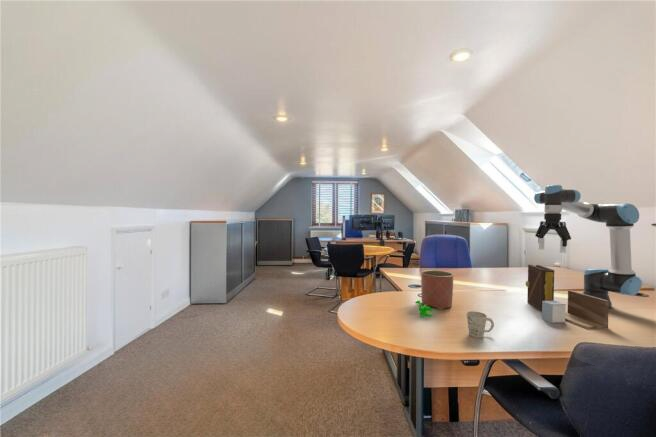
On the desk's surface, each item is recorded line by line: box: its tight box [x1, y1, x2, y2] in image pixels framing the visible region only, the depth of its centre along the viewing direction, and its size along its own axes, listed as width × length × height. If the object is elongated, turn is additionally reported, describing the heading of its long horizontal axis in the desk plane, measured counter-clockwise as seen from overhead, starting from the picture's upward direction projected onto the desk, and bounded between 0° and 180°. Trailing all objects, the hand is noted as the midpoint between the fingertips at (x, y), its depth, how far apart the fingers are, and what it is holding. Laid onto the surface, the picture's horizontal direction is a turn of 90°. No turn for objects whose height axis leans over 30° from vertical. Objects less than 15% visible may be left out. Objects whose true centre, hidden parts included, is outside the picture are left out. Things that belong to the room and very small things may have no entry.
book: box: [525, 264, 555, 313], centre depth 180 cm, size 22×8×25 cm, turn 168°
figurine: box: [414, 299, 436, 318], centre depth 162 cm, size 6×12×9 cm, turn 98°
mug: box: [466, 310, 495, 339], centre depth 137 cm, size 8×13×10 cm, turn 95°
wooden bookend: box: [565, 289, 610, 330], centre depth 156 cm, size 12×20×14 cm, turn 7°
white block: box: [541, 300, 567, 324], centre depth 157 cm, size 8×6×10 cm
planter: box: [420, 269, 455, 310], centre depth 183 cm, size 19×19×20 cm
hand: (551, 251), depth 162 cm, fingers open, 13 cm apart
